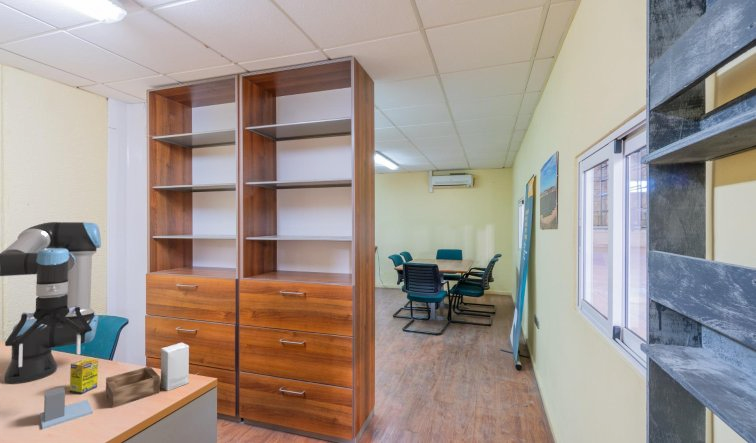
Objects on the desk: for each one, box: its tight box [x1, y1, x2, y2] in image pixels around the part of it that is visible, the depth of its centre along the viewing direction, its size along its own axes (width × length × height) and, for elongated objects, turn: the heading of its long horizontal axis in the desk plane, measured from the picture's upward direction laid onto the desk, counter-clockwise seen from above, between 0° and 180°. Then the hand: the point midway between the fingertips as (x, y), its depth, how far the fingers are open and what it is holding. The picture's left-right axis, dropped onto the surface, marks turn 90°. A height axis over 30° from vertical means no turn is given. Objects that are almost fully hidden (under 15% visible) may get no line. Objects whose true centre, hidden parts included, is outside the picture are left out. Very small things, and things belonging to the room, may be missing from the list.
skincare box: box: [160, 342, 190, 392], centre depth 132 cm, size 8×7×16 cm
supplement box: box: [69, 357, 99, 395], centre depth 127 cm, size 6×6×11 cm
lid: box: [39, 386, 93, 430], centre depth 111 cm, size 12×11×9 cm
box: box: [105, 366, 161, 408], centre depth 125 cm, size 14×13×6 cm
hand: (50, 359), depth 109 cm, fingers open, 13 cm apart
